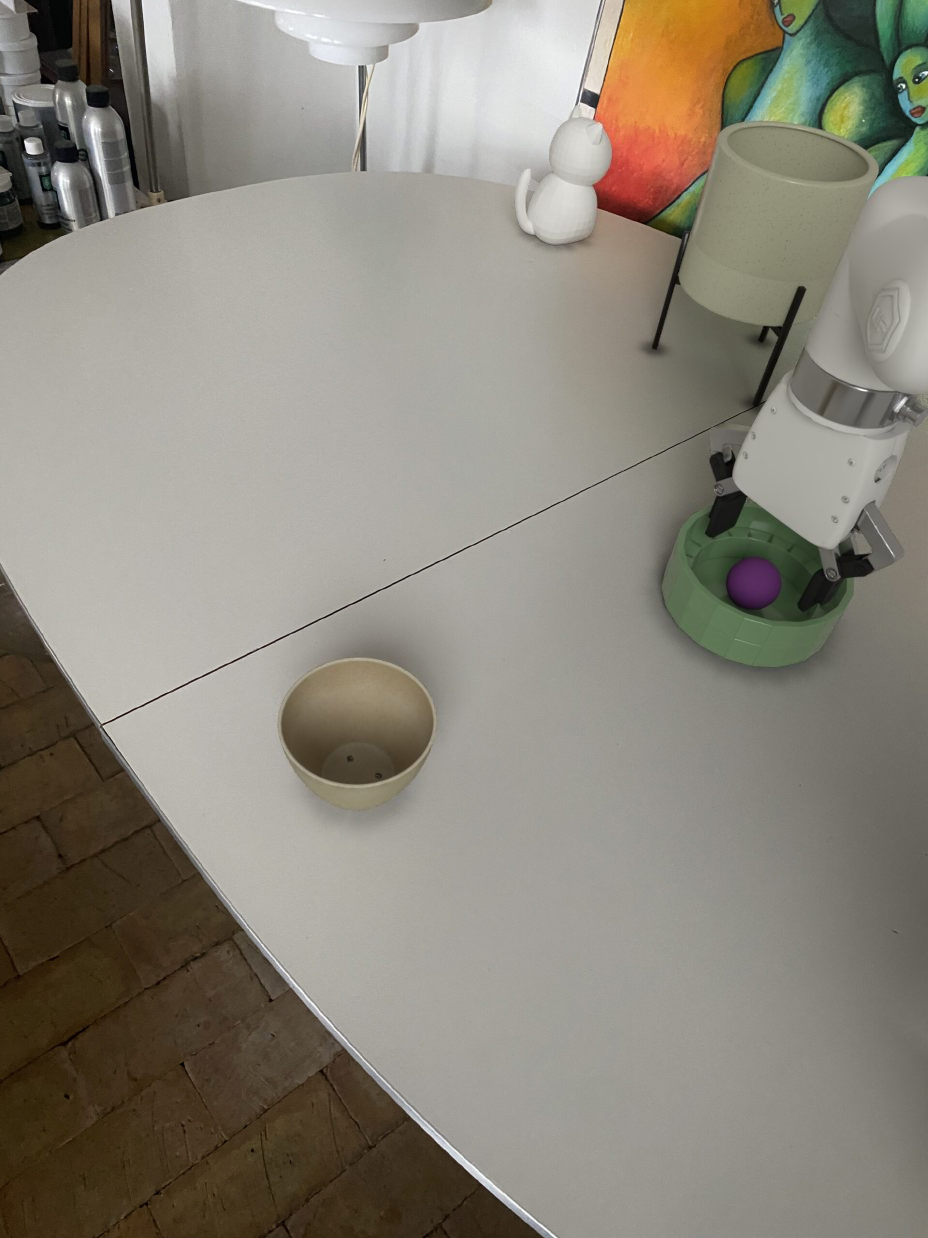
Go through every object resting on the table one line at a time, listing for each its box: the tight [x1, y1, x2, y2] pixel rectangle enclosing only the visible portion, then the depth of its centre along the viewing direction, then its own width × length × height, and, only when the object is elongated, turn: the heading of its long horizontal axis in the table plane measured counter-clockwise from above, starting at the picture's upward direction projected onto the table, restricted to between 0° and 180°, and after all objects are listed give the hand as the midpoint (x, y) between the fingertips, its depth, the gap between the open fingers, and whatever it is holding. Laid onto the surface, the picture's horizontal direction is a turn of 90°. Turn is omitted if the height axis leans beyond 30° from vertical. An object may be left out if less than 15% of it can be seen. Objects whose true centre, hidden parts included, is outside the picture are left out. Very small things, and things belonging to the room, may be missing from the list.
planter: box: [651, 120, 880, 408], centre depth 91 cm, size 15×16×23 cm
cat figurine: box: [514, 104, 613, 246], centre depth 112 cm, size 9×12×15 cm
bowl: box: [661, 501, 855, 668], centre depth 72 cm, size 14×14×6 cm
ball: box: [726, 557, 782, 610], centre depth 72 cm, size 4×4×4 cm
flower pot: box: [277, 656, 438, 811], centre depth 58 cm, size 10×10×7 cm
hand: (763, 565), depth 71 cm, fingers open, 9 cm apart
